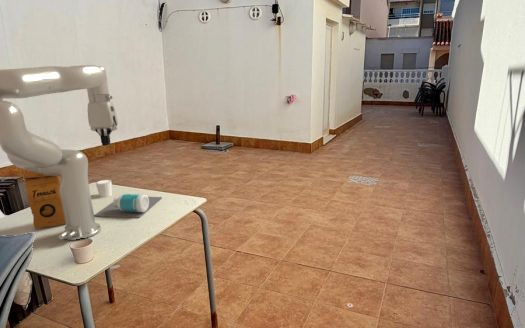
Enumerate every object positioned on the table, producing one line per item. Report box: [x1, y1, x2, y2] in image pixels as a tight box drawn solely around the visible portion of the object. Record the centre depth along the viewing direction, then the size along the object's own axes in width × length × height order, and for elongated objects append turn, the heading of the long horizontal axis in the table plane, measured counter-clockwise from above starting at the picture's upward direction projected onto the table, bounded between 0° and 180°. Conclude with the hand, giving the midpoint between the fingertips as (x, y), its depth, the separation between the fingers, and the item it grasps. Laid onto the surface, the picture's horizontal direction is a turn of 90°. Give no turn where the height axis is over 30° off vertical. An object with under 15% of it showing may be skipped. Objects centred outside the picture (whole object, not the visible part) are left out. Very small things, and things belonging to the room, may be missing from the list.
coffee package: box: [23, 172, 66, 230], centre depth 133 cm, size 10×12×22 cm
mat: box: [94, 196, 163, 219], centre depth 151 cm, size 22×20×1 cm
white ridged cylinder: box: [95, 179, 113, 198], centre depth 165 cm, size 7×7×7 cm
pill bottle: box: [112, 193, 149, 212], centre depth 144 cm, size 8×7×14 cm
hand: (106, 144), depth 138 cm, fingers closed
